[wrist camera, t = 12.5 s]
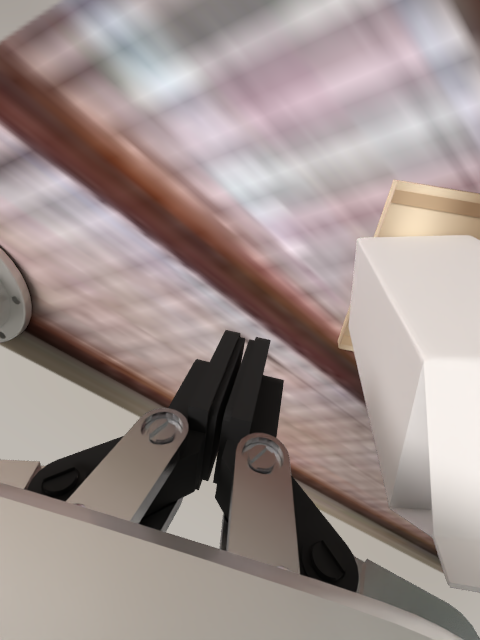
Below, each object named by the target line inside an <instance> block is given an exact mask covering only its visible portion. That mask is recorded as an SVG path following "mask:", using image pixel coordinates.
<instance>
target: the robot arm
mask: <svg viewBox="0 0 480 640" xmlns="http://www.w3.org/2000/svg"><path fill="white" fill-rule="evenodd" d="M31 310H32V305H31V299H30V294H29V291H28V288H27V285H26V283H25V281H24V279H23V277H22V275H21V273H20V271H19V270H18V269H17V267H16V266H15V264H14V263H13V261H12V260H11V259H10V258H9V257H8V256H7V255H6V253H5V252H4V251H3V250H2V249H1V248H0V342H5V341H9V340H11V339H13V338H14V337H16V336H18V335H19V334H20V333H22V332H23V331H24V330H25V329H26V327H27V326H28V324H29V321H30V318H31ZM244 343H245V338H241V337H240V333H237V332H232V331H228V330H226V331H225V332H224V334H223V336H222V338H221V340H220V342H219V345H218V347H217V349H216V351H215V353H214V355H213V357H212V359H211V361H210V362H207V361H202V360H198V359H197V360H195V362H194V363H193V365H192V367H191V369H190V371H189V372H188V374H187V376H186V378H185V379H184V381H183V383H182V385H181V386H180V388H179V390H178V392H177V393H176V395H175V397H174V399H173V401H172V402H171V404H170V406H169V408H159V409H154V410H151V411H149V412H147V413H145V414H144V415H143V416H142V417H141V418H140V419H139V420H138V421H137V422H136V423H135V424H134V425H133V427H132V428H131V429H130V430H129V431H128V432H127V433H126V434H125V436H122V437H120V438H117V439H114V440H111V441H109V442H106V443H103V444H100V445H98V446H95V447H92V448H89V449H86V450H84V451H81V452H78V453H75V454H73V455H70V456H67V457H64V458H62V459H59V460H57V461H54V462H52V463H50V464H48V465H46V466H41V465H40V462H39V461H19V460H1V459H0V640H480V638H479V637H478V635H477V633H476V631H475V630H474V628H473V626H472V625H471V624H470V623H469V622H468V620H467V619H466V618H465V617H464V616H463V614H462V613H461V612H459V611H458V610H457V609H455V608H454V607H453V606H451V605H450V604H448V603H447V602H445V601H443V600H441V599H439V598H437V597H436V596H434V595H432V594H430V593H428V592H427V591H425V590H423V589H421V588H419V587H417V586H416V585H414V584H412V583H410V582H408V581H406V580H405V579H403V578H401V577H399V576H397V575H396V574H394V573H392V572H390V571H388V570H387V569H384V568H383V567H381V566H379V565H377V564H376V563H374V562H372V561H370V560H368V559H367V560H366V561H365V562H363V561H362V560H360V559H358V558H356V557H354V555H353V554H352V552H351V551H350V549H349V548H348V546H347V545H346V543H345V542H344V541H343V540H342V538H341V537H340V536H339V535H338V533H337V532H336V531H335V530H334V528H333V527H332V526H331V524H330V523H329V522H328V521H327V519H326V518H325V517H324V516H323V515H322V513H321V512H320V511H319V509H318V508H317V507H316V506H315V504H314V503H313V502H312V501H311V499H310V498H309V497H308V496H307V494H306V493H305V492H304V491H303V489H302V488H301V487H300V486H299V484H298V483H297V482H296V481H295V479H294V478H293V477H292V476H291V469H290V458H289V454H288V451H287V449H286V448H285V446H284V445H283V444H282V443H281V442H280V441H279V440H278V439H277V438H276V436H277V428H278V421H279V413H280V406H281V398H282V391H283V383H284V380H281V379H277V378H273V377H268V376H264V375H263V372H264V367H265V363H266V358H267V354H268V349H269V345H270V340H267V339H263V338H259V337H256V339H255V341H254V340H249V342H248V345H247V348H246V351H245V354H244V357H243V360H242V355H243V349H244ZM241 360H242V363H241ZM217 453H218V454H217ZM216 456H217V462H216V467H215V474H214V481H213V483H216V484H217V489H216V495H215V498H216V500H217V502H218V504H219V505H220V507H221V509H222V511H223V512H224V514H223V520H222V530H221V540H220V549H217V548H214V547H210V546H208V545H204V544H201V543H198V542H195V541H192V540H188V539H185V538H182V537H179V536H175V535H172V534H169V533H166V530H167V529H168V527H169V525H170V523H171V521H172V520H173V518H174V516H175V514H176V512H177V510H178V509H179V507H180V505H181V502H182V499H183V497H184V496H186V495H188V494H190V493H192V492H194V491H195V489H197V490H199V488H200V485H201V482H202V480H206V481H208V480H209V477H210V474H211V471H212V468H213V465H214V462H215V459H216Z"/></svg>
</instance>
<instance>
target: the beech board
mask: <svg viewBox="0 0 480 640" xmlns="http://www.w3.org/2000/svg"><path fill="white" fill-rule="evenodd" d="M444 235H469V236H473V237H474V238H476V239H478V240H480V194H479V193H473V192H466V191H460V190H454V189H448V188H442V187H436V186H430V185H424V184H418V183H412V182H405V181H399V180H393V183H392V186H391V189H390V192H389V195H388V198H387V201H386V203H385V206H384V209H383V212H382V215H381V218H380V221H379V224H378V226H377V229H376V232H375V235H374V237H405V236H444ZM350 305H351V304H350ZM349 316H350V307H349V310H348V313H347V316H346V318H345V321H344V324H343V327H342V330H341V333H340V336H339V338H338V346H339V348H341V349H345V350H350V351H354V349H353V345H352V340H351V336H350V332H349Z"/></svg>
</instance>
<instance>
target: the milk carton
mask: <svg viewBox="0 0 480 640" xmlns="http://www.w3.org/2000/svg"><path fill="white" fill-rule="evenodd" d="M349 332H350V336H351V340H352V345H353V349H354V354H355V358H356V362H357V367H358V371H359V376H360V380H361V384H362V389H363V393H364V398H365V402H366V406H367V411H368V415H369V420H370V424H371V429H372V433H373V437H374V442H375V446H376V451H377V455H378V459H379V464H380V468H381V473H382V477H383V481H384V486H385V490H386V495H387V499H388V503H389V508H390V509H391V510H393V511H394V512H395V513H397V514H398V515H400V516H401V517H403V518H404V519H406V520H407V521H409V522H410V523H412V524H413V525H415V526H416V527H417V528H419V529H420V530H422V531H423V532H425V533H426V534H428V535H429V536H431V537H432V538H433V540H434V544H435V547H436V550H437V553H438V556H439V559H440V562H441V565H442V569H443V572H444V575H445V578H446V581H447V583H448V585H449V586H450V587H451V588H456V589H462V590H468V591H473V592H479V593H480V240H478V239H476V238H474V237H473V236H469V235H444V236H405V237H367V238H358V239H357V244H356V255H355V265H354V275H353V285H352V295H351V305H350V316H349Z"/></svg>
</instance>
